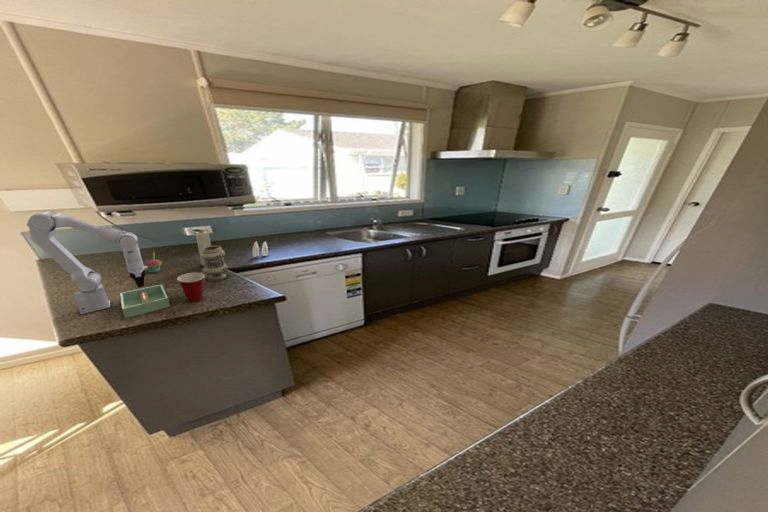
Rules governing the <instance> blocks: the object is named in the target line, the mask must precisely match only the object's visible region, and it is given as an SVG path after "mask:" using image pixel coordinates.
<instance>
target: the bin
mask: <svg viewBox="0 0 768 512" xmlns="http://www.w3.org/2000/svg"><path fill="white" fill-rule="evenodd" d="M141 291H146V292H147V294H148V297H149V300H150V302H146V303H141V299H140V296H139V293H140V292H141ZM119 296H120V304H121V310H122V313H123V316H124V319H128V318H129V319H130V318H131V317H136V316H139V315H144V314H148V313H152V312H155V311H159V310H162V309H166V308H170V307H171V304H170V300H169V297H168V294H167V292H166V290H165V287H164V286H163V284H162V283H161V284H156V285H152V286H147V287H141V288H138V289H133V290H128V291H124V292H120V293H119Z"/></svg>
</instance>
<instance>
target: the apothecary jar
mask: <svg viewBox="0 0 768 512" xmlns="http://www.w3.org/2000/svg"><path fill="white" fill-rule="evenodd" d="M225 256H226V251H225V250H223V248H222V247H221V246H220V245H211V246H209V247H205V248H204V249H203V252H202V253H201V258H202V259H204V262H205V266H203V273H204V274H206V275H208V277H207V281H209V282H218V281H223V280H225V279H227V278H228V274H226V273H225V272H227V270H229V266H228V265H229V264H227V263H225V258H224V257H225Z"/></svg>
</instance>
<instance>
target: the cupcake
mask: <svg viewBox="0 0 768 512" xmlns="http://www.w3.org/2000/svg"><path fill="white" fill-rule="evenodd" d="M155 257H156V255H155V252H152V259H149V260H146V261H145V262H143V265H144V266H147V267H148V268H147V269H146V270H148V272H149V273H157V272H159V271H160V270H161V269H160V268H161V265H162V264H163V263H162V260H160V259H156V258H155Z"/></svg>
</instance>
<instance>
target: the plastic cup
mask: <svg viewBox="0 0 768 512" xmlns="http://www.w3.org/2000/svg"><path fill="white" fill-rule="evenodd" d="M205 277H206V276H205V273H201V272H188V273H183V274H181V275H179V276H178V277H177V278H176V280H177V282H178V283H179V285H180V287H181V289H182V291H183V293H184V295H185V297H186V300H187V301H188V302H190V303H194V302H198V301H201V300H202V299H203V290H204V289H203V287H204V280H205V279H204V278H205Z"/></svg>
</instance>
